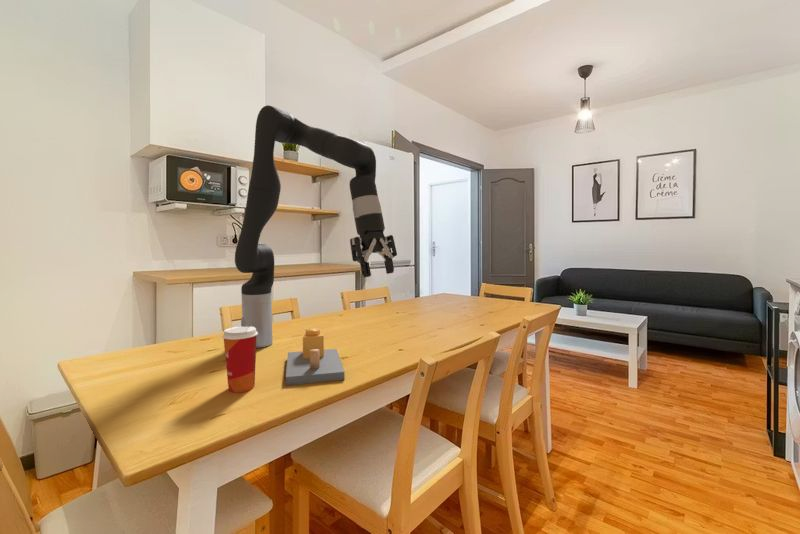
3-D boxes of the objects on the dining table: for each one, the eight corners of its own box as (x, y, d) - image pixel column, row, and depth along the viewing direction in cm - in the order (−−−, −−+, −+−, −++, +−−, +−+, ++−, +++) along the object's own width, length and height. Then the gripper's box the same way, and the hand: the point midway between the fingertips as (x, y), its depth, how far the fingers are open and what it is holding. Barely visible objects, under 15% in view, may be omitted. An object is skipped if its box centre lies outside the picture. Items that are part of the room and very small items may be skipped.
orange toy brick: (303, 358, 102) (302, 332, 102) (302, 352, 107) (302, 328, 107) (323, 356, 104) (323, 331, 103) (322, 351, 109) (322, 327, 108)
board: (285, 385, 88) (285, 358, 88) (288, 359, 108) (287, 337, 107) (344, 379, 92) (344, 354, 92) (336, 355, 111) (336, 334, 111)
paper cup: (233, 381, 91) (231, 325, 90) (264, 381, 91) (263, 325, 89) (216, 394, 83) (214, 333, 82) (250, 395, 83) (248, 333, 82)
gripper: (377, 219, 106) (387, 274, 106) (338, 218, 96) (349, 280, 95) (396, 212, 101) (407, 270, 100) (357, 211, 91) (369, 276, 90)
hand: (379, 275), depth 98 cm, fingers open, 8 cm apart
